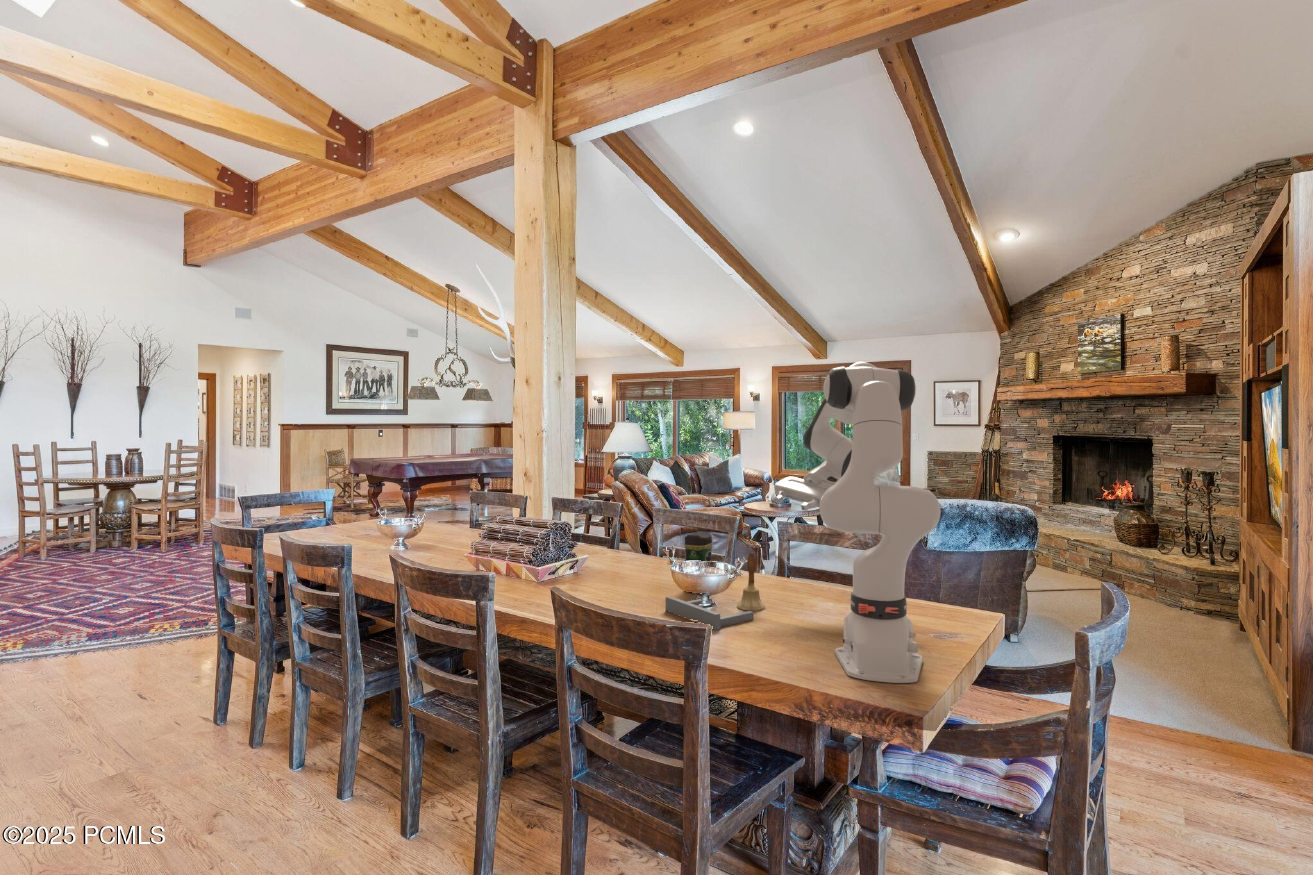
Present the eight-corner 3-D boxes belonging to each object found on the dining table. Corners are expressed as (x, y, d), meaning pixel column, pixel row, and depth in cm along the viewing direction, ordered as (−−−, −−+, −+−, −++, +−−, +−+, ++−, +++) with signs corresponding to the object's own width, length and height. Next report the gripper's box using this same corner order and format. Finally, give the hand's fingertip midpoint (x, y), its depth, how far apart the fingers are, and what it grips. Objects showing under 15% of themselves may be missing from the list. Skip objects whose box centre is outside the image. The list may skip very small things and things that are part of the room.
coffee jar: (693, 584, 220) (693, 529, 220) (715, 587, 216) (715, 530, 216) (680, 591, 211) (680, 533, 211) (703, 594, 208) (703, 534, 207)
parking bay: (705, 603, 197) (705, 589, 197) (757, 620, 179) (757, 605, 179) (665, 610, 188) (665, 596, 188) (715, 630, 170) (715, 614, 170)
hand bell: (757, 602, 198) (757, 549, 197) (770, 609, 190) (770, 554, 189) (731, 604, 195) (731, 550, 195) (744, 612, 187) (744, 555, 187)
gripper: (788, 468, 209) (761, 487, 201) (845, 482, 194) (817, 503, 186) (791, 485, 211) (763, 505, 203) (847, 500, 196) (820, 522, 188)
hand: (790, 504), depth 194 cm, fingers open, 8 cm apart
